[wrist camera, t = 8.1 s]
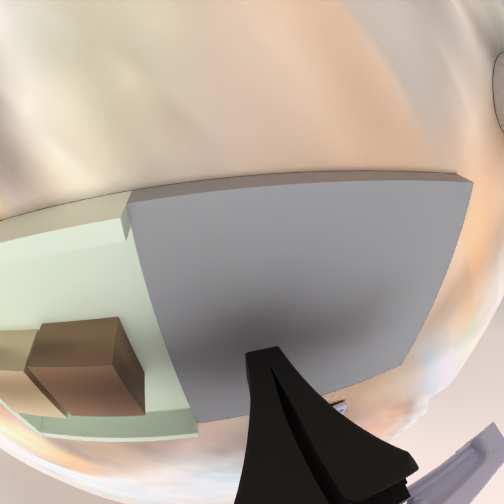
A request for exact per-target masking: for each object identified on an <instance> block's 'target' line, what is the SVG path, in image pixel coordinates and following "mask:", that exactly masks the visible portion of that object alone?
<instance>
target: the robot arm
mask: <svg viewBox="0 0 504 504" xmlns="http://www.w3.org/2000/svg"><path fill="white" fill-rule="evenodd" d="M245 362H246V376H247V382H248V386H249V392H250V418H249V430H248V439H247V446H246V453H245V459H244V464H243V469H242V474H241V478H240V483H239V487H238V491H237V495H236V498H235V502H234V504H403V503H405V502H406V501H407V504H470V503H471V501H472V500H473V499H474V498H475V497H476V496H477V495H478V494H479V492H480V491H481V490H482V489H483V488H484V486H485V485H486V484H487V483H488V481H489V480H490V479H491V477H492V476H493V475H494V474H495V473H496V471H497V470H498V469H499V468H500V467H501V465H502V464H503V463H504V437H503V436H502V434H501V433H500V431H499V430H498V428H497V426H496V425H495V423H494V422H492V423H491V424H490V425H489V426H487V427H486V428H485V429H484V430H483V431H482V432H481V433H479V434H478V435H477V436H476V437H474V438H473V439H471V440H470V441H469V442H467V443H466V444H465V445H464V446H463V447H461V448H460V449H459V450H458V451H456V453H455V454H454V455H453V456H452V457H450V458H449V459H448V460H446V461H445V462H444V463H442V464H441V465H440V466H438V467H437V468H435V469H434V470H433V471H431V472H430V473H428V474H427V475H425V476H424V477H422V478H421V479H419V480H418V481H416V482H414V483H413V484H411V485H410V486H408V487H406V485H405V484H407V481H406V477H408V476H410V475H411V474H413V473H414V472H416V471H417V470H418V468H419V467H418V465H417V464H416V462H415V460H414V459H413V458H412V456H411V455H410V454H409V453H408V452H407V451H404V450H402V449H400V448H397V447H395V446H393V445H391V444H389V443H387V442H385V441H383V440H381V439H379V438H377V437H375V436H374V435H372V434H370V433H369V432H367V431H366V430H364V429H362V428H361V427H359V426H358V425H356V424H355V423H353V422H352V421H350V420H349V419H348V418H346V417H345V416H344V415H343V413H344V412H345V410H346V408H347V407H348V404H347V402H342V403H339V404H336V405H334V406H331V405H330V404H329V403H328V402H327V401H326V400H325V399H324V398H323V397H322V396H320V395H319V394H318V393H317V392H316V391H315V390H314V389H313V388H312V386H311V385H310V384H309V383H308V382H307V381H306V380H305V379H304V378H303V377H302V376H301V374H300V373H299V372H298V371H297V370H296V369H295V367H294V366H293V365H292V364H291V362H290V361H289V360H288V358H287V357H286V356H285V354H284V353H283V352H282V350H281V349H280V347H278V346H274V347H270V348H265V349H260V350H256V351H251V352H247V353H246V354H245Z"/></svg>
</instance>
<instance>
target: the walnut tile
mask: <svg viewBox="0 0 504 504" xmlns="http://www.w3.org/2000/svg"><path fill="white" fill-rule="evenodd" d="M27 367H28V368H29V370H30V371H31V372H32V373H33V375H34V376H35V377H36V378H37V379H38V381H39V382H40V383H41V384H42V385H43V386H44V387H45V389H46V390H47V391H48V392H49V393H50V394H51V395H52V396H53V397H54V398H55V399H56V401H57V402H58V403H59V404H60V405H61V406H62V407H63V408H64V409H65V410H66V411H67V412H68V413H69V414H70V415H71V416H94V417H116V416H143V415H146V414H145V372H144V370H143V368H142V366H141V364H140V362H139V360H138V358H137V356H136V354H135V352H134V350H133V348H132V346H131V344H130V342H129V339H128V337H127V335H126V333H125V331H124V328H123V326H122V324H121V321H120V319H119V317H109V318H99V319H89V320H79V321H67V322H55V323H42V325H41V327H40V330H39V333H38V335H37V338H36V341H35V344H34V347H33V350H32V353H31V356H30V359H29V362H28V365H27Z"/></svg>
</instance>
